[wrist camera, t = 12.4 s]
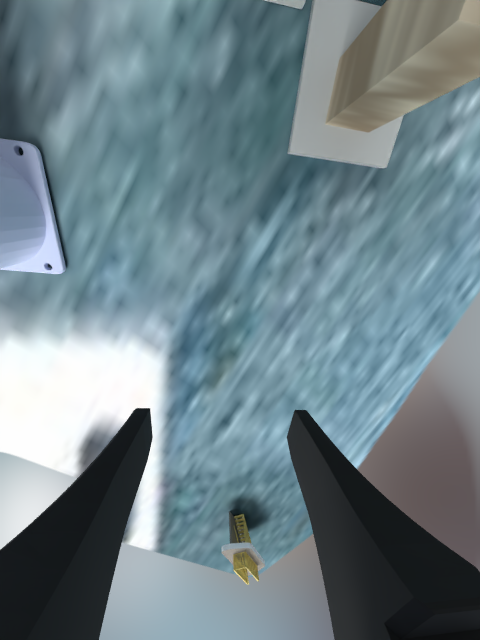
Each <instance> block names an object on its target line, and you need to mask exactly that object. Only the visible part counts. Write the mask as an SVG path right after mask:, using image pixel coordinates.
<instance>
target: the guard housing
mask: <svg viewBox="0 0 480 640" xmlns="http://www.w3.org/2000/svg"><path fill="white" fill-rule="evenodd" d="M264 1H268V2H273V3H277V4H281V5H285V6H289V7H294V8H298V9H302V8H303V6H304V4H305V1H306V0H264Z"/></svg>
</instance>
